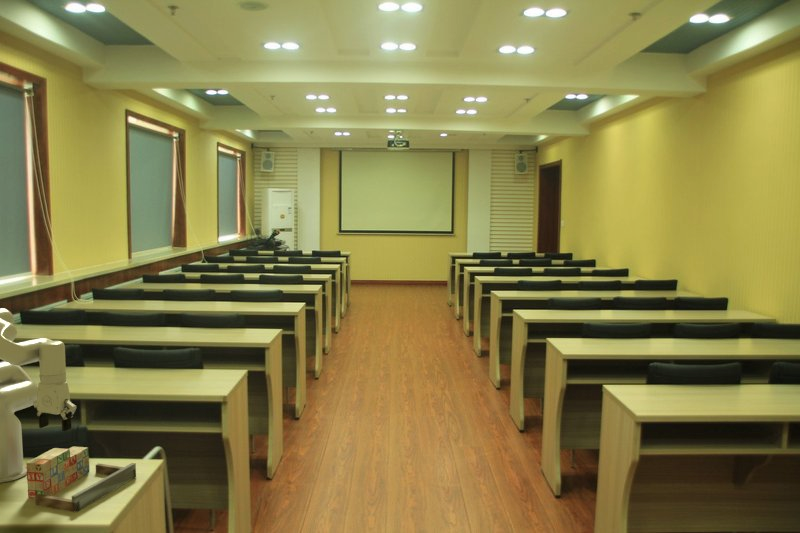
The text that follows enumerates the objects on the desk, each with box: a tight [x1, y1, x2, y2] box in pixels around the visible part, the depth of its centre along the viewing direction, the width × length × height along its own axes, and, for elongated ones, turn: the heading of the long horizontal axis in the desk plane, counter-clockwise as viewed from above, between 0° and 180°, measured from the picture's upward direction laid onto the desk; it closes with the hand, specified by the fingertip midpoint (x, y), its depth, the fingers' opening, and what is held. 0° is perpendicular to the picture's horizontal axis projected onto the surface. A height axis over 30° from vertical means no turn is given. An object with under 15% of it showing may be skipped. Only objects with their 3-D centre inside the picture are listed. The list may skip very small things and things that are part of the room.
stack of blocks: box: [25, 446, 90, 500], centre depth 206 cm, size 21×6×12 cm, turn 169°
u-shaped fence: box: [34, 462, 137, 513], centre depth 202 cm, size 16×26×5 cm, turn 163°
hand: (55, 428), depth 205 cm, fingers open, 9 cm apart
